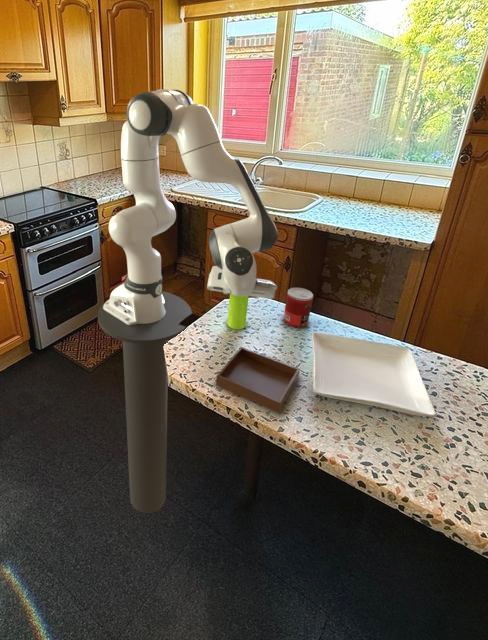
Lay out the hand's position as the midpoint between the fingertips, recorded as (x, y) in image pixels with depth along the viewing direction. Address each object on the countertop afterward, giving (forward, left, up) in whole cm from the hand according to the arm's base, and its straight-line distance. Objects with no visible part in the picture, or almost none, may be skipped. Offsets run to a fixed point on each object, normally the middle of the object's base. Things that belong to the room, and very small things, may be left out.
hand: (241, 293), depth 126 cm
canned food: (+15, +13, -12) cm, 23 cm away
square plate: (+39, -4, -12) cm, 41 cm away
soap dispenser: (0, 0, -12) cm, 12 cm away
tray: (+16, -22, -12) cm, 30 cm away
